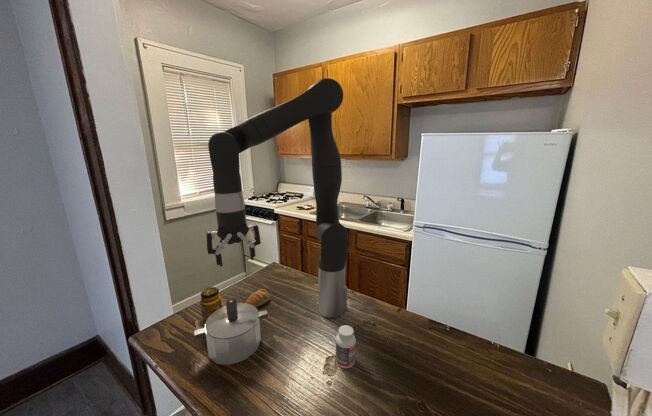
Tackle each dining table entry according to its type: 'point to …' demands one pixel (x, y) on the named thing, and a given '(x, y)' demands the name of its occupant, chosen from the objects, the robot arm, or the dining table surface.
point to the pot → (233, 344)
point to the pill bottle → (345, 347)
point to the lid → (232, 320)
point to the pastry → (258, 298)
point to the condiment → (208, 305)
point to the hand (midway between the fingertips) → (236, 262)
